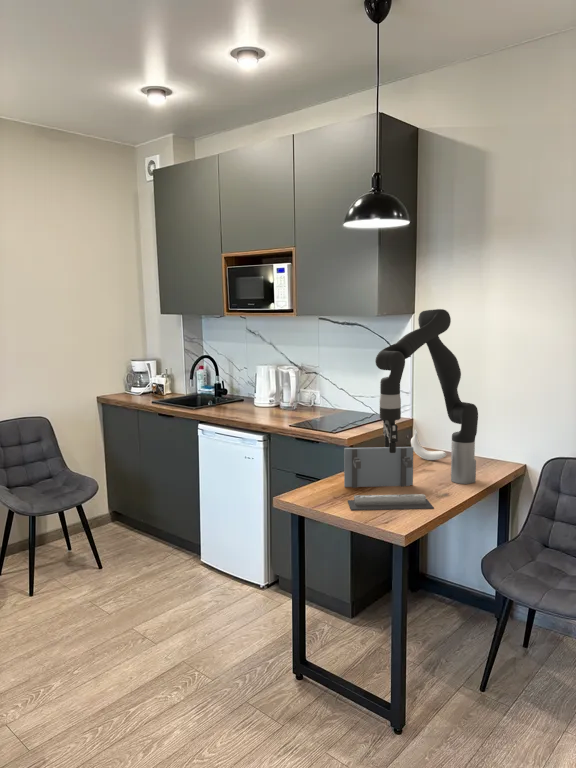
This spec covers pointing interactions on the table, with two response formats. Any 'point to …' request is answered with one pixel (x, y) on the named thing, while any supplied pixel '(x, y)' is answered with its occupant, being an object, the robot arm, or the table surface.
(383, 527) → the table surface
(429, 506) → the mat
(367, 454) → the rail stand
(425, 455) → the banana
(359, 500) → the rail
